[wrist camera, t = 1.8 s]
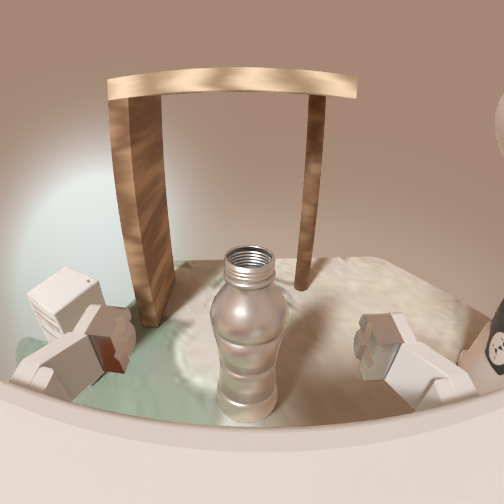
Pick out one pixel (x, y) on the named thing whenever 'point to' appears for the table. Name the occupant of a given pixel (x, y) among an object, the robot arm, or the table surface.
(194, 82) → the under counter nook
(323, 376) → the table surface
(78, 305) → the supplement box
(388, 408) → the table surface
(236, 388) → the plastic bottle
